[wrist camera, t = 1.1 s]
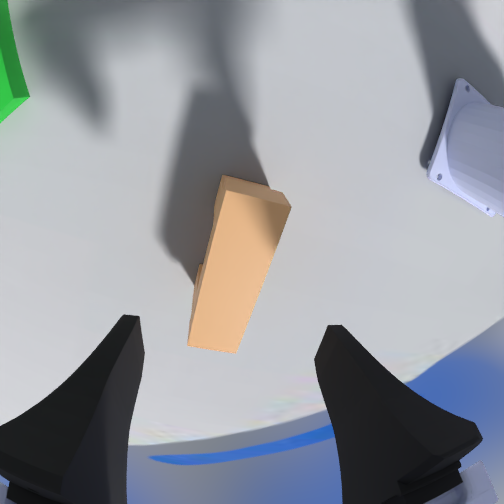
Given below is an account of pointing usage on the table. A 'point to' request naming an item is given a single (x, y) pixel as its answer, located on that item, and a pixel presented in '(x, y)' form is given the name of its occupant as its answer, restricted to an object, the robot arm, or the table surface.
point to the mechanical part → (9, 67)
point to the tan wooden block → (235, 262)
